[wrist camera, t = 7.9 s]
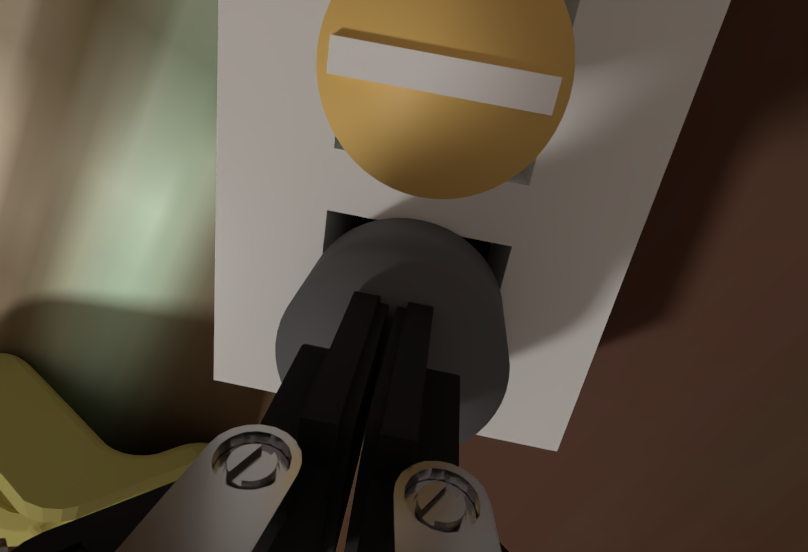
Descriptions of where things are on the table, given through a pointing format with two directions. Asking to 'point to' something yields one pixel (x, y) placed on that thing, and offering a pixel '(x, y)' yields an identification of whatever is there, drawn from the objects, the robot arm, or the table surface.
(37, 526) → the plastic component
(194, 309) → the table surface
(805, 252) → the table surface
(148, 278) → the table surface
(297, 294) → the knob
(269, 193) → the mount
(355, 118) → the pot knob
